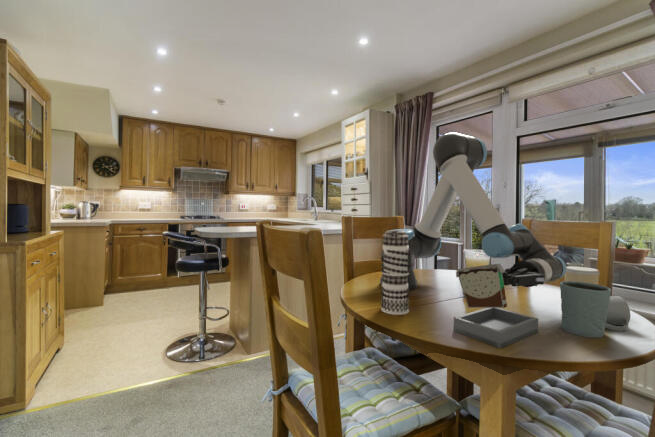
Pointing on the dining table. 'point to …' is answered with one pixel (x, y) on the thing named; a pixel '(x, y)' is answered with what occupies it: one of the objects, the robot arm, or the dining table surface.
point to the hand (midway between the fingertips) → (484, 282)
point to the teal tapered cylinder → (584, 308)
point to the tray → (496, 326)
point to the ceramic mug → (617, 314)
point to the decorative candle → (395, 272)
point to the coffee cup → (582, 274)
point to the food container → (483, 286)
